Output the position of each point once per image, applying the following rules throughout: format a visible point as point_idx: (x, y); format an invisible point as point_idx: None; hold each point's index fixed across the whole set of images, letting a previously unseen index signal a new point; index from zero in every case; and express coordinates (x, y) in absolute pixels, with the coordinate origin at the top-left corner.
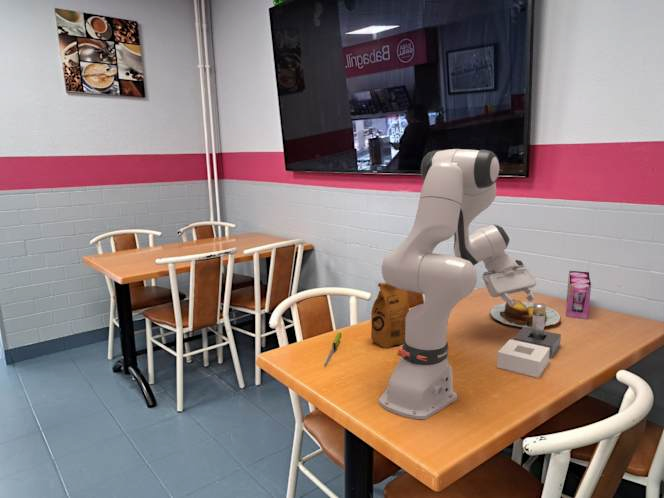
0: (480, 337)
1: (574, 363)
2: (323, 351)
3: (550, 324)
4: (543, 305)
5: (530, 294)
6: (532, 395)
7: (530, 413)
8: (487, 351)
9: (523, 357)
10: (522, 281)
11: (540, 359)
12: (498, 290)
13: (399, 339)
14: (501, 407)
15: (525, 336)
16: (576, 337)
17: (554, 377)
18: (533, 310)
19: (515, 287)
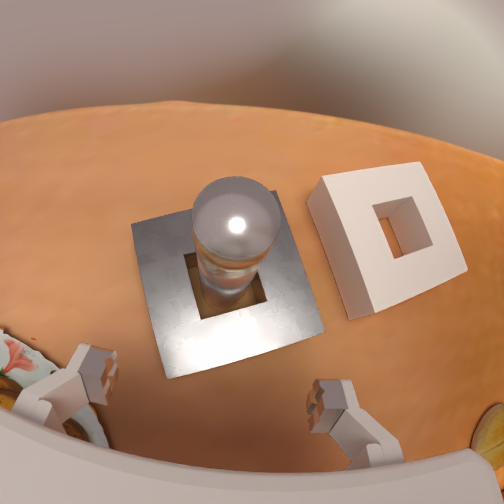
0: (306, 472)
1: (246, 155)
2: None
3: (8, 342)
4: (232, 189)
5: (77, 381)
6: (450, 167)
7: (477, 152)
8: (387, 374)
9: (437, 202)
10: (56, 497)
11: (409, 165)
12: (479, 461)
13: (502, 496)
14: (501, 189)
15: (269, 309)
16: (39, 239)
17: (364, 160)
18: (263, 259)
19: (250, 487)
